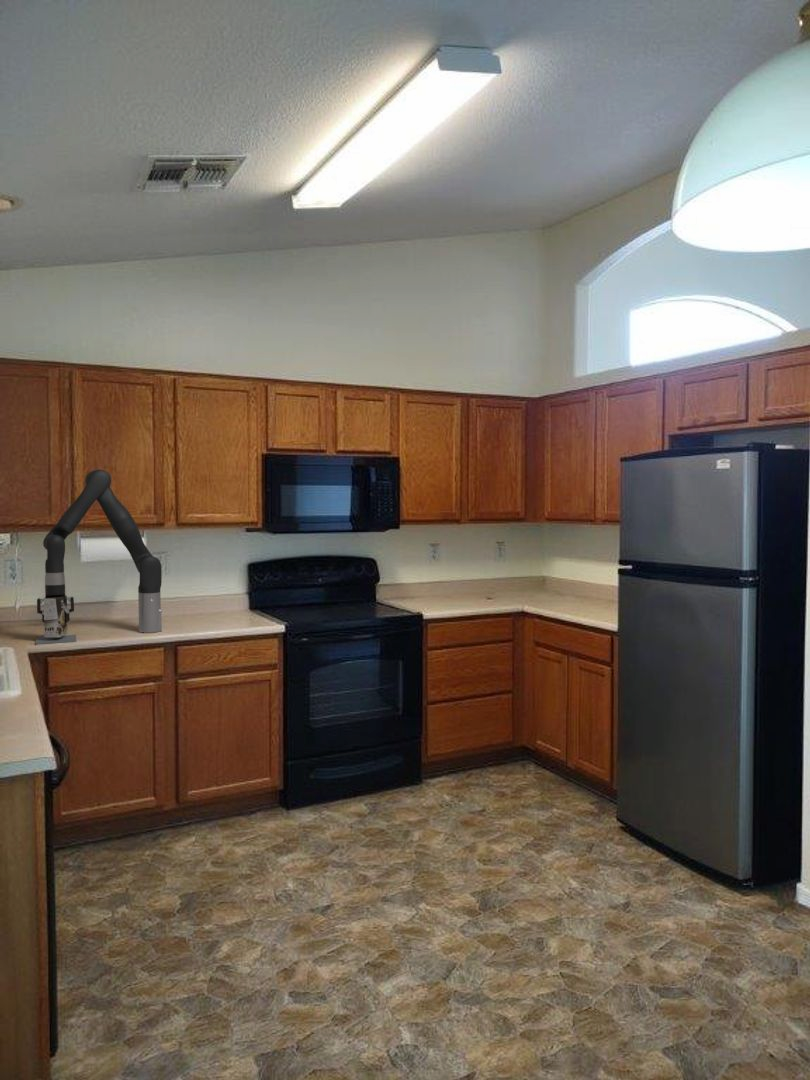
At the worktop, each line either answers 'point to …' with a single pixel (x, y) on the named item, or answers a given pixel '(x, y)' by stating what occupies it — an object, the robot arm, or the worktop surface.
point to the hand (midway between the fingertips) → (56, 622)
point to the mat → (56, 639)
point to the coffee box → (55, 617)
